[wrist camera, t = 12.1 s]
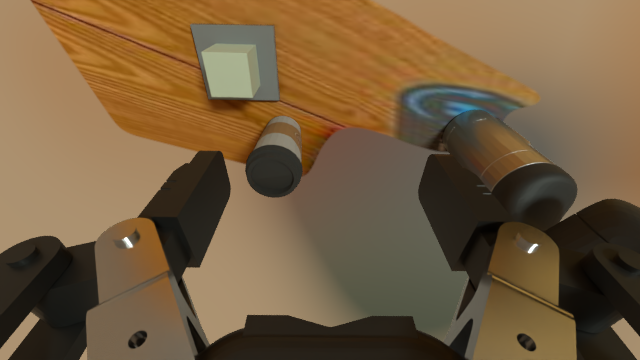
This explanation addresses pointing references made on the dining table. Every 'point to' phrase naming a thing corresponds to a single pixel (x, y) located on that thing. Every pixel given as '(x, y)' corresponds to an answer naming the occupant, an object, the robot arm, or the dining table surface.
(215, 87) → the sage block
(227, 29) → the slate board
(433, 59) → the dining table surface
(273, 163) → the coffee cup
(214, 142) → the dining table surface
